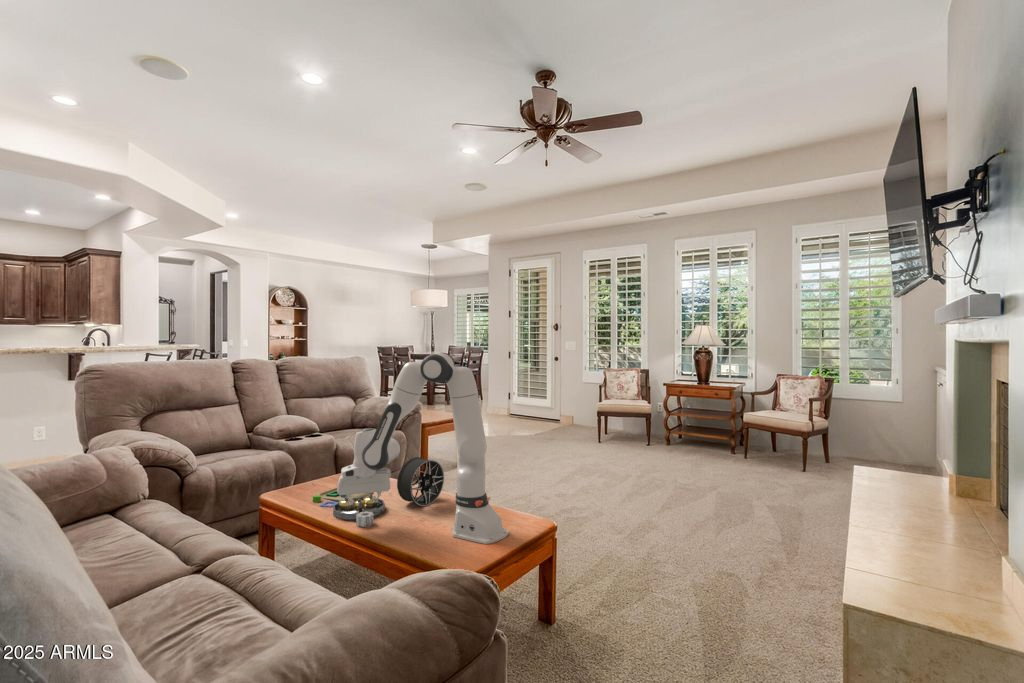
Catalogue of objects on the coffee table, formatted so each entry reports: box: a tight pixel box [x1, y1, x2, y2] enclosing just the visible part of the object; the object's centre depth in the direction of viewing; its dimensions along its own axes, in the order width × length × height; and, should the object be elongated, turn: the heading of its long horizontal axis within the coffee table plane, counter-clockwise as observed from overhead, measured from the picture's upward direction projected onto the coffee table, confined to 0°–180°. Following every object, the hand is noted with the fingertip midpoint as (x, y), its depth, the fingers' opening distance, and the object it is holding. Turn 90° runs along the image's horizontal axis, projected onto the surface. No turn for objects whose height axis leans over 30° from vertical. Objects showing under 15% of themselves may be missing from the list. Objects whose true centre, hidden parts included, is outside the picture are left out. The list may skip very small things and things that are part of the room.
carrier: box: [332, 494, 386, 522], centre depth 210 cm, size 21×21×6 cm
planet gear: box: [355, 511, 375, 528], centre depth 196 cm, size 7×7×4 cm
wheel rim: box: [396, 456, 445, 507], centre depth 222 cm, size 20×9×20 cm, turn 143°
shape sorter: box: [312, 487, 375, 508], centre depth 231 cm, size 34×19×5 cm, turn 152°
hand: (363, 503), depth 196 cm, fingers open, 8 cm apart
